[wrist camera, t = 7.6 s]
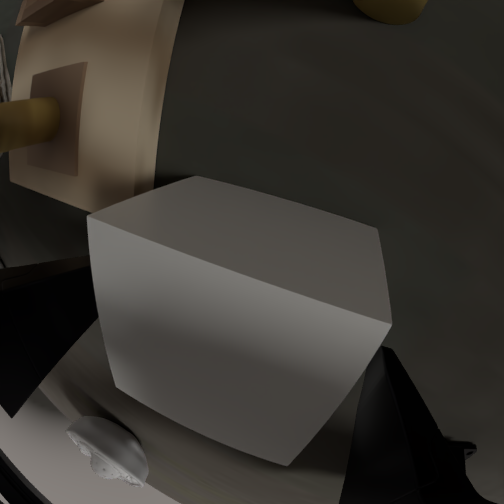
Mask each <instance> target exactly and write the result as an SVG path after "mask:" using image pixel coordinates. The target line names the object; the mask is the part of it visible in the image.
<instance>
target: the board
mask: <svg viewBox="0 0 504 504" xmlns="http://www.w3.org/2000/svg"><path fill="white" fill-rule="evenodd" d="M184 1H185V0H23V2H22V5H21V8H20V11H19V15H18V18H17V21H16V25H15V26H24V30H23V34H22V38H21V42H20V46H19V51H18V56H17V61H16V67H15V73H14V80H13V87H12V96H11V101H9V102H3V103H0V153H3V152H7V151H9V170H10V181H11V182H13V183H16V184H18V185H21V186H24V187H26V188H29V189H31V190H34V191H36V192H39V193H41V194H44V195H46V196H49V197H52V198H54V199H57V200H59V201H62V202H65V203H67V204H70V205H72V206H75V207H78V208H80V209H83V210H86V211H88V212H91V213H95V212H97V211H99V210H102V209H104V208H107V207H109V206H112V205H114V204H117V203H119V202H122V201H124V200H127V199H130V198H132V197H135V196H138V195H140V194H143V193H146V192H149V191H151V190H153V189H154V176H155V164H156V153H157V144H158V135H159V127H160V119H161V112H162V105H163V99H164V93H165V87H166V81H167V75H168V70H169V65H170V59H171V55H172V50H173V45H174V41H175V36H176V32H177V28H178V24H179V20H180V16H181V12H182V8H183V4H184Z"/></svg>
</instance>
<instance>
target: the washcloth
mask: <svg viewBox="0 0 504 504" xmlns="http://www.w3.org/2000/svg"><path fill="white" fill-rule="evenodd" d="M11 96H12V87H11V83H10V77H9V73H8V69H7V66H6V58H5V50H4V43H3V38H2V36H1V34H0V103H3V102H9V101H11ZM1 156H2V153H0V157H1Z"/></svg>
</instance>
